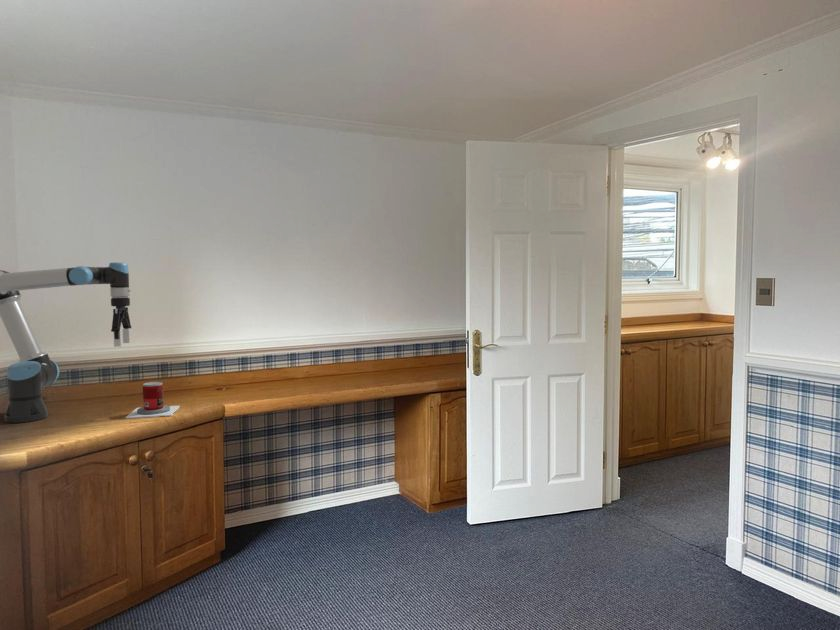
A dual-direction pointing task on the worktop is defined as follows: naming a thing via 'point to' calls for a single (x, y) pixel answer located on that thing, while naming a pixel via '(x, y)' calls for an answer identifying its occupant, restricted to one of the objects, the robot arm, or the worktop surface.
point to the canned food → (153, 395)
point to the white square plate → (153, 412)
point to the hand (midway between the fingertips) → (122, 344)
